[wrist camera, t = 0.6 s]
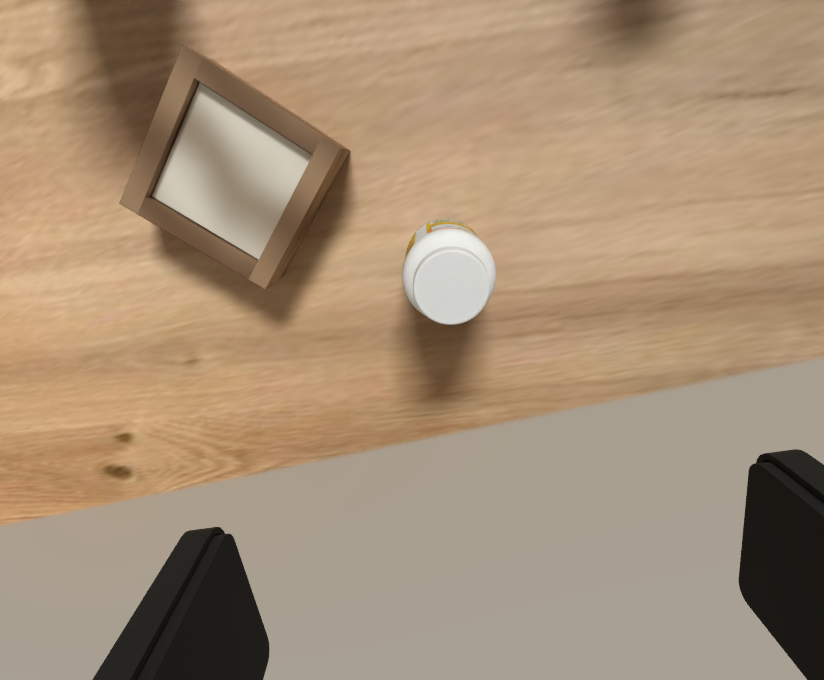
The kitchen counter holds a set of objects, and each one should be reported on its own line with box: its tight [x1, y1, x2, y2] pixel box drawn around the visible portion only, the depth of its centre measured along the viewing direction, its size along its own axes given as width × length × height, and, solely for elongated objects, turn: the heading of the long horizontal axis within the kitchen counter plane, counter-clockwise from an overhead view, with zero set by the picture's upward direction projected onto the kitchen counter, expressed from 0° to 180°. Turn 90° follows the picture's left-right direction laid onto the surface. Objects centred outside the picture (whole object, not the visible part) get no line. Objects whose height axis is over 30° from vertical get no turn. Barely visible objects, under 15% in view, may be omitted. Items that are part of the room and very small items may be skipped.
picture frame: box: [119, 45, 350, 289], centre depth 30 cm, size 10×10×4 cm
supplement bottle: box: [402, 219, 496, 325], centre depth 29 cm, size 5×5×10 cm
